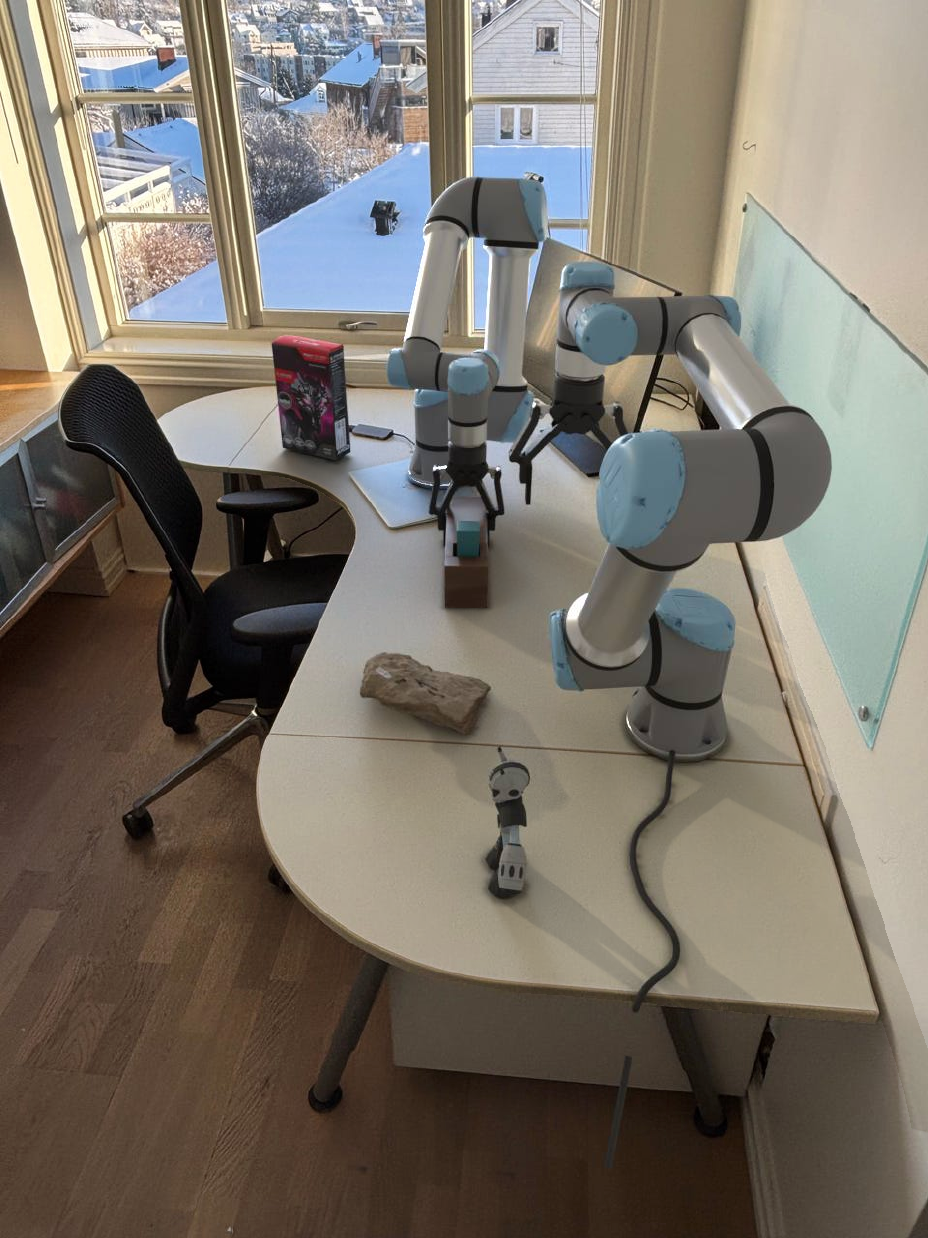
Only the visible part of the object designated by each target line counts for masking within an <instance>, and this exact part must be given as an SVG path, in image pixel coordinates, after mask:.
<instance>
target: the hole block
mask: <svg viewBox="0 0 928 1238" xmlns="http://www.w3.org/2000/svg"><path fill="white" fill-rule="evenodd" d="M446 512H447V519H446V542H445V547H444V566H443V568H444V569H443V570H444V577H443V579H444V608H463V609H467V608H468V609H469V608H470V609H472V608H473V609H475V608H476V609H487V608H488V605H489V602H488V601H489V571H490V570H489V568H490V567H489V566H490V565H489V563H490V562H489V547H488V534H487V513H488V511H487V509H486V507H485V505H484V503H483V500H482V498H481V496H453V498H452V500H451V502H450V504H449V506H448V508H447V510H446ZM457 521H479V557H457Z"/></svg>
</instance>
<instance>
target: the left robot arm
mask: <svg viewBox="0 0 928 1238" xmlns="http://www.w3.org/2000/svg"><path fill="white" fill-rule="evenodd" d="M423 226H424V227H423V231H422V236H423V239H424V242H425V245H424V249H423V255H422V258H421V261H420V268H419V272H418V276H417V281H416V286H415V290H414V295H413V299H412V304H411V308H410V311H409V317H408V322H407V325H406V330H405V335H404V340H403V344H402V345H403V346H402V348H401V347H399V348H392V349H391V350H390V352H389V354H387V358H386V359H387V360H386V368H385V369H386V370H385V372H386V378H387V380H388V383H389V385H391V386H392V387H395V388H400V389H407V390H410V391H411V390H414V403H413V408H414V436H415V440H414V441H415V444H414V445H415V446H414V449H413V451H412V455H411V457H410V462H409V464H408V469H407V472H409V473H407V475H408V478H409V481H410V482H412V483H413V484H414V485H416V486H419V487H422V488H425V489H429V490H431V489H432V490H431V493H430V500H429V505H428V514H429V515H430V516H436V517H437V530H438V531H439V532H442V533H443V535H442V536H443V537H442V538H443V542H442V543H443V547H444V548H445V542H446V519H447V508H448V506H449V504H450V502H451V500H452V498H453V497H455V496H454V495H455V494H456V492H457V490H458V488H460V487H461V488H463V487H464V488H465V487H471V488H476V491H477V492H478V494H479V497H481V498H482V500H483V503H484V505H485V507H486V509H487V534H488V548H490V537H491V535H490V533H491V532H495V531H496V519H497V517H499V516H505V513H506V511H505V502H504V495H503V490H502V489H503V488H502V483H501V478H502V474H503V473H502V466H500V465H496V466H495V467H494V466H489V464H488V462H487V451H488V443H487V442H494V443H495V442H497V443H501V444H504V443H509V444H513V443H514V442H515V440H516V438H517V437H518V435H519V433H520V431H521V430H522V428H523V426H524V424H525V423H526V421H527V419H528V417H529V416H530V413H531V407H532V403H533V402H534V401H535V400H534V399H535V394H534V392H532V390H528V386H529V382H528V381H527V379H526V378H525V377H524V376H523V362H524V361H523V360H524V348H525V335H526V323H527V321H526V320H527V310H528V297H529V296H528V295H529V284H530V269H531V259H532V257H533V256H535V255H536V254H537V253H538V252H539V248H540V247H539V246H540V243H543V242H545V241H546V240H547V238H548V228H549V214H548V201H547V194H546V189H545V186H544V185H543V183H542V182H540V181H539V180H535V179H527V178H522V177H520V178H518V177H517V178H514V177H513V178H512V177H511V178H510V177H482V176H467V177H464V178H461V179H459V180H457V181H455V182H454V183H452V184H451V185H450V186H448V187H447V188H446V189H445V190H444V191H443V192H442V193H440V195H439V196H438V197H437V198H436V200H435V202H433V204H432V206H431V208H430V210H429V212H428V214H427V216H426V219H425V223H424V225H423ZM471 238H476V239H483V249H484V250H485V251H486V253H487V254H488V255H489V268H488V270H489V271H488V289H487V302H486V303H487V305H486V317H485V318H486V320H485V334H484V335H485V336H484V349H477V350H474V351H472V352H471V353H469V354H467V353H466V354H465V353H453V352H442V351H441V349H442V344H443V340H444V335H445V330H446V325H447V322H448V321H447V320H448V315H449V311H450V306H451V302H452V296H453V292H454V288H455V283H456V278H457V273H458V268H459V264H460V258H461V254H462V251H464V250H465V249H466V248H467V247H468V246H469V245H468V244H469V241H470V239H471ZM488 474H489V477H490V479H492V480H493V485H494V493H495V499H496V506H497V507H496V506H494V503H493V501H492V499H491V497H490V494H489V492H488V490H487V488H486V486H485V483H484V480H483V479H484V478H485V477H486V476H487V475H488ZM409 475H410V476H409ZM411 477H412V478H413V479H414V480H416V481H419V482H421V483H426V484H432V485H433V486H430V485H425V484H421V483H418V482H416V481H414V480H413V479H412V478H411ZM449 483H450V485H449V486H440V485H442V484H449ZM440 490H446V492H445V494H444V496H443V498H442V500H441V502H440V504H439V506H437V502H438V496H439V493H440Z"/></svg>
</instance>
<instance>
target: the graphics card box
mask: <svg viewBox="0 0 928 1238" xmlns="http://www.w3.org/2000/svg"><path fill="white" fill-rule="evenodd" d="M344 348H345V347H344V343H335V342H330V341H323V340H318V339H313V338H307V337H303V336H297V335H293V334H292V335H291V334H284V335H281V336H279V337H277V338H275V339H274V340H273V341H272V342H271V351H272V352H271V353H272V360H273V361H272V362H273V370H274V379H275V389H276V399H277V406H278V416H279V417H278V418H279V426H280V435H281V446H282V449H285V450H289V451H294V452H299V453H303V454H307V455H310V456H311V455H312V456H315V457H319V458H324V459H328V460H333V461H338V460H340V459H342V458H343V457H345V456H346V455H348V454H350V453H351V437H350V423H349V410H348V395H347V394H348V393H347V380H346V379H347V377H346V365H345V349H344Z"/></svg>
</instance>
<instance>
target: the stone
mask: <svg viewBox="0 0 928 1238" xmlns="http://www.w3.org/2000/svg"><path fill="white" fill-rule="evenodd" d="M362 673H363V677H362V680H361V685H360V690H359V695H360V697H361V698H362V699H368V698H369V699H374V700H377V701H378V702H379V703H380V705H381V706H383V707H385V708H389V709H394V710H396V712H400V713H404V714H405V713H406V714H411V715H412V716H415V717H416V718H421V719H423V720H426V721H428V722H430V723H432V724H434V725H435V726H438V727H446V728H451V729H453V730H455V731H456V732H457V733H459V734H463V735H467V734H469V733H471V732H472V731H473V729H474V728H475V725H476V724H477V721H478V719H479V716H478V715H479V711H480V710H481V708H482V706H483V704H484V701H485V700H486V697H487V695H488V693H489V692H490V691H491V689H492V686H491V685H490V684H488V683H487V682H486V681H484V680H482V679H481V678H479V677H478V678H477V677H474V676H466V675H462V674H454V673H451V672H449V671H439V670H434V669H433V668H432V667H431V666H429V665H427V664H426V665H424V664H422V663H420V662H419V660H416V659H415V658H413V657H412V656H411V655H410V654H402V653H399V652H396V653H395V652H394V653H393V652H385V651H382V652H380V653H378V654H376V655H374V656H372V657H370V658H369V659H367V661H366V662H365V664H364V668H363V671H362Z"/></svg>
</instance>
